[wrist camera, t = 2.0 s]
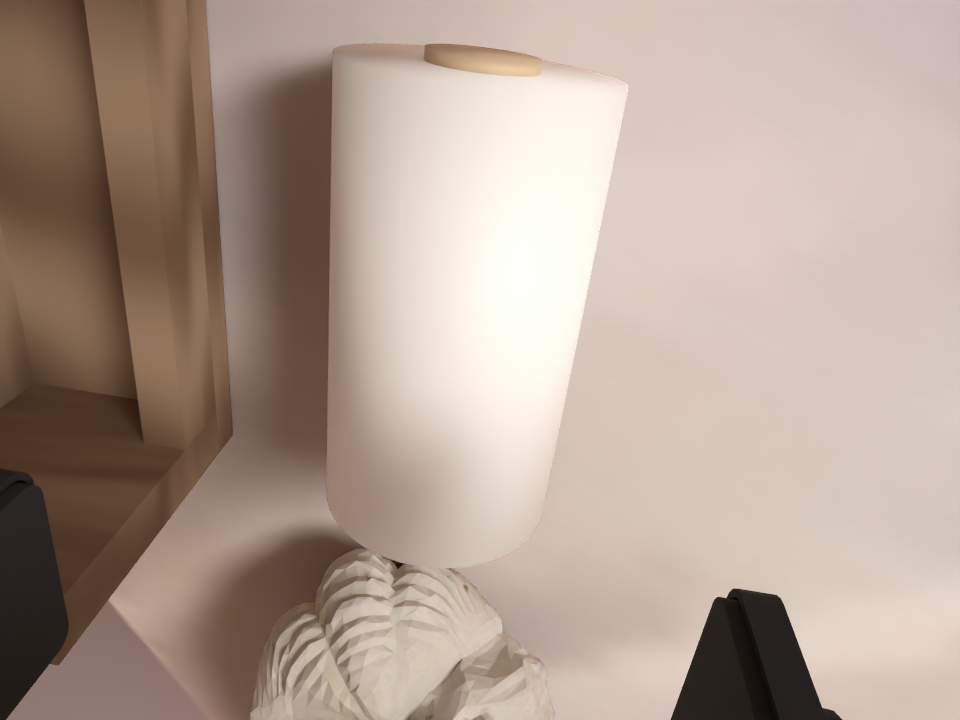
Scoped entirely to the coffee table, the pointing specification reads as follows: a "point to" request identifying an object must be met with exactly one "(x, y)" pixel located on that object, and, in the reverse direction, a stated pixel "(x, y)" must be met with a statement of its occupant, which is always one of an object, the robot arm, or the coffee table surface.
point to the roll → (457, 288)
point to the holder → (109, 276)
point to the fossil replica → (396, 651)
